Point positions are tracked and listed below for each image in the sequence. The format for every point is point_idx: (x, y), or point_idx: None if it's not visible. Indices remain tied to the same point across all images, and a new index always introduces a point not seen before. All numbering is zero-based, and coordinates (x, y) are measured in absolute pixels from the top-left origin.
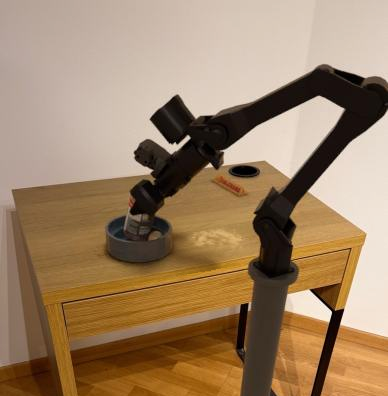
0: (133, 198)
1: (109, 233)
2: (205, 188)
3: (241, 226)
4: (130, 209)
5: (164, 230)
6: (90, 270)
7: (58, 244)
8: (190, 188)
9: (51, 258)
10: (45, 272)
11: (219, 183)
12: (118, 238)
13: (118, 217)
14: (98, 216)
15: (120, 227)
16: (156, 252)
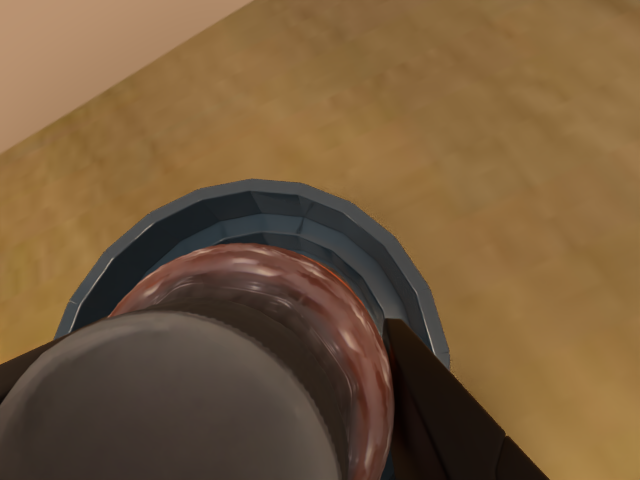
0: (122, 309)
1: (129, 240)
2: None
3: None
4: (103, 318)
5: (383, 477)
6: (64, 253)
7: (217, 88)
8: None
9: (126, 113)
10: (42, 140)
11: None
12: (290, 247)
13: (322, 200)
14: (465, 95)
15: (322, 230)
16: None
